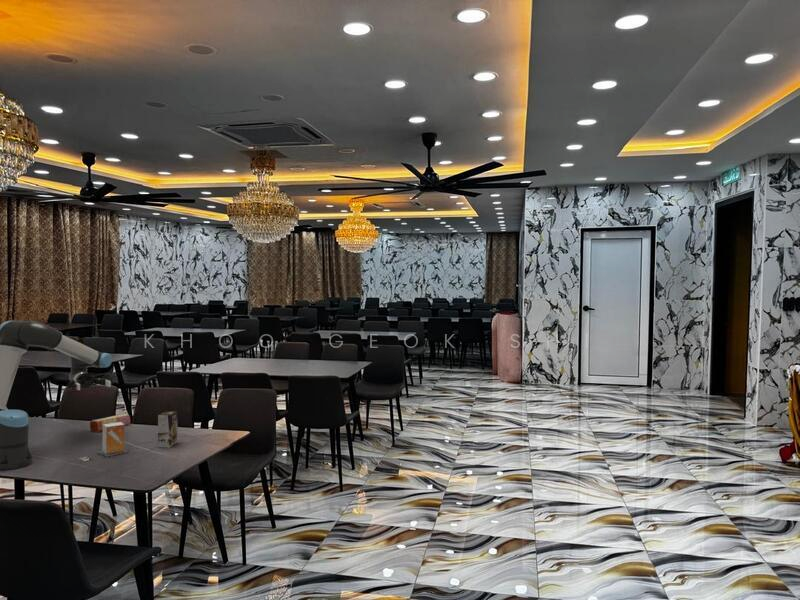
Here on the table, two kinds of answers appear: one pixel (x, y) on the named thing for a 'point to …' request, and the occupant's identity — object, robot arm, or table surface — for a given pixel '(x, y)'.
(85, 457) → the tiles
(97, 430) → the snack package
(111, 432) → the small box
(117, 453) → the gray slab
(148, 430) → the table surface
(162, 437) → the coffee box
